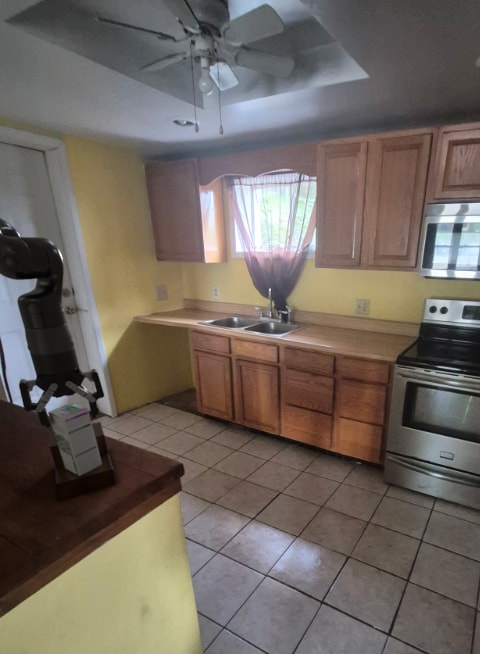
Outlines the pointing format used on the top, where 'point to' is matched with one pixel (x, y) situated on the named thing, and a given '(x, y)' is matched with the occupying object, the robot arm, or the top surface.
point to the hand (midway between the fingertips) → (71, 421)
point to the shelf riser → (89, 481)
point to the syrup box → (75, 438)
